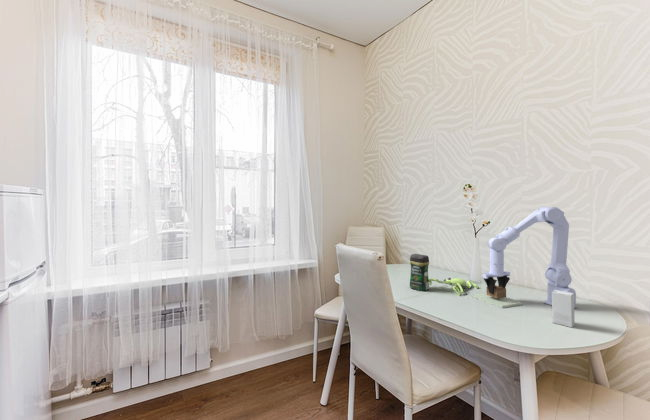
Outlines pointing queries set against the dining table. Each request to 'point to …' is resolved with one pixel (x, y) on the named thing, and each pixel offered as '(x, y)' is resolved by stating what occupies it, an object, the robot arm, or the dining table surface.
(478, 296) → the board
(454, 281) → the figurine
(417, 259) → the coffee jar
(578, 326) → the dining table surface
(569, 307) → the skincare box
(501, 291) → the collar
